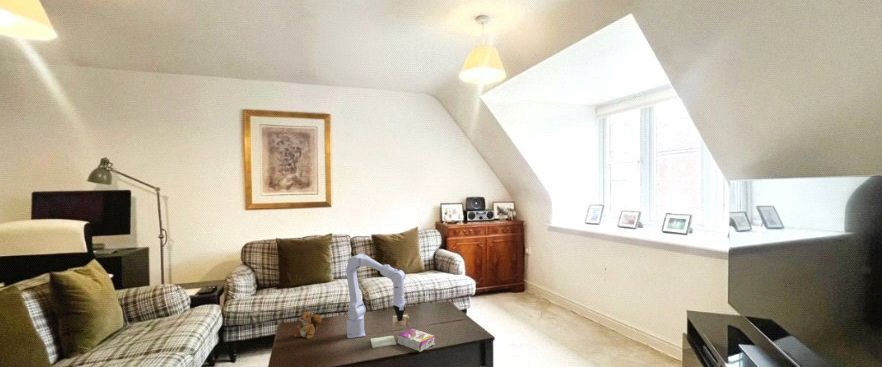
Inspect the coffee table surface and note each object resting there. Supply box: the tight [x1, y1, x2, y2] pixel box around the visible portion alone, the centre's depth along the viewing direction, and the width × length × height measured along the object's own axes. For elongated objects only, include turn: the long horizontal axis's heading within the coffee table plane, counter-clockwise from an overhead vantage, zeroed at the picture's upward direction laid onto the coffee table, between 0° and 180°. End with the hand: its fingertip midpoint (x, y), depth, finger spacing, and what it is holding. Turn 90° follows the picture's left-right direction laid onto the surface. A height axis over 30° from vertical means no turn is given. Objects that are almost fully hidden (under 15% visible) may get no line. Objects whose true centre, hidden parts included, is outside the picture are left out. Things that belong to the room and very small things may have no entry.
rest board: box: [370, 335, 397, 349], centre depth 198 cm, size 12×10×1 cm
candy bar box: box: [397, 327, 436, 353], centre depth 195 cm, size 11×5×16 cm
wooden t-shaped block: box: [392, 312, 410, 328], centre depth 202 cm, size 8×7×5 cm
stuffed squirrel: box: [293, 311, 323, 340], centre depth 211 cm, size 10×14×13 cm
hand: (399, 319), depth 201 cm, fingers closed on wooden t-shaped block, 2 cm apart
